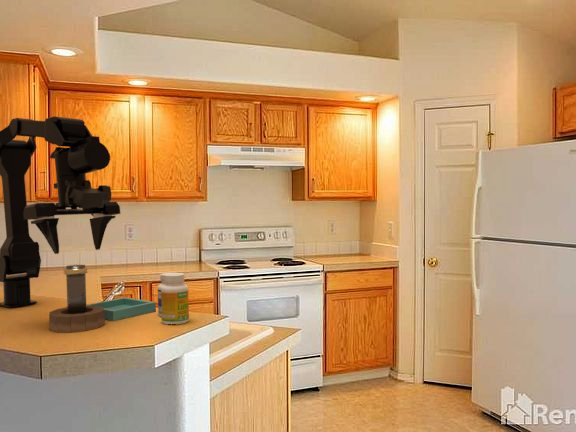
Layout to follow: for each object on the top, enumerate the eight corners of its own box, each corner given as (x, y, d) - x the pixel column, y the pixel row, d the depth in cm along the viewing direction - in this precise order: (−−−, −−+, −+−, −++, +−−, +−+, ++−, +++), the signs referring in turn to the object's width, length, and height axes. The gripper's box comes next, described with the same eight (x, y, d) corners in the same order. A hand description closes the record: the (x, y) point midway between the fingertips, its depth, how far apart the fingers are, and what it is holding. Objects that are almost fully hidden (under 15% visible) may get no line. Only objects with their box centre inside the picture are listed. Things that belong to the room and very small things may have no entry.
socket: (39, 327, 103) (39, 312, 103) (85, 317, 111) (85, 303, 111) (68, 335, 97) (67, 318, 97) (114, 324, 105) (114, 309, 105)
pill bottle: (186, 312, 115) (185, 271, 115) (179, 317, 110) (178, 275, 110) (162, 311, 116) (161, 271, 115) (154, 317, 111) (153, 275, 110)
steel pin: (61, 326, 104) (59, 266, 103) (81, 322, 107) (79, 263, 106) (73, 329, 101) (71, 267, 101) (93, 325, 104) (91, 265, 104)
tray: (82, 314, 114) (82, 305, 114) (125, 305, 123) (125, 297, 123) (113, 320, 108) (113, 311, 108) (155, 311, 117) (155, 302, 116)
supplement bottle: (180, 326, 103) (179, 276, 102) (156, 324, 104) (155, 275, 104) (193, 319, 108) (192, 272, 107) (170, 318, 110) (169, 271, 109)
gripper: (47, 169, 97) (54, 253, 97) (132, 172, 112) (139, 245, 112) (19, 178, 104) (25, 256, 104) (102, 180, 119) (108, 248, 118)
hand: (78, 251), depth 109 cm, fingers open, 9 cm apart
